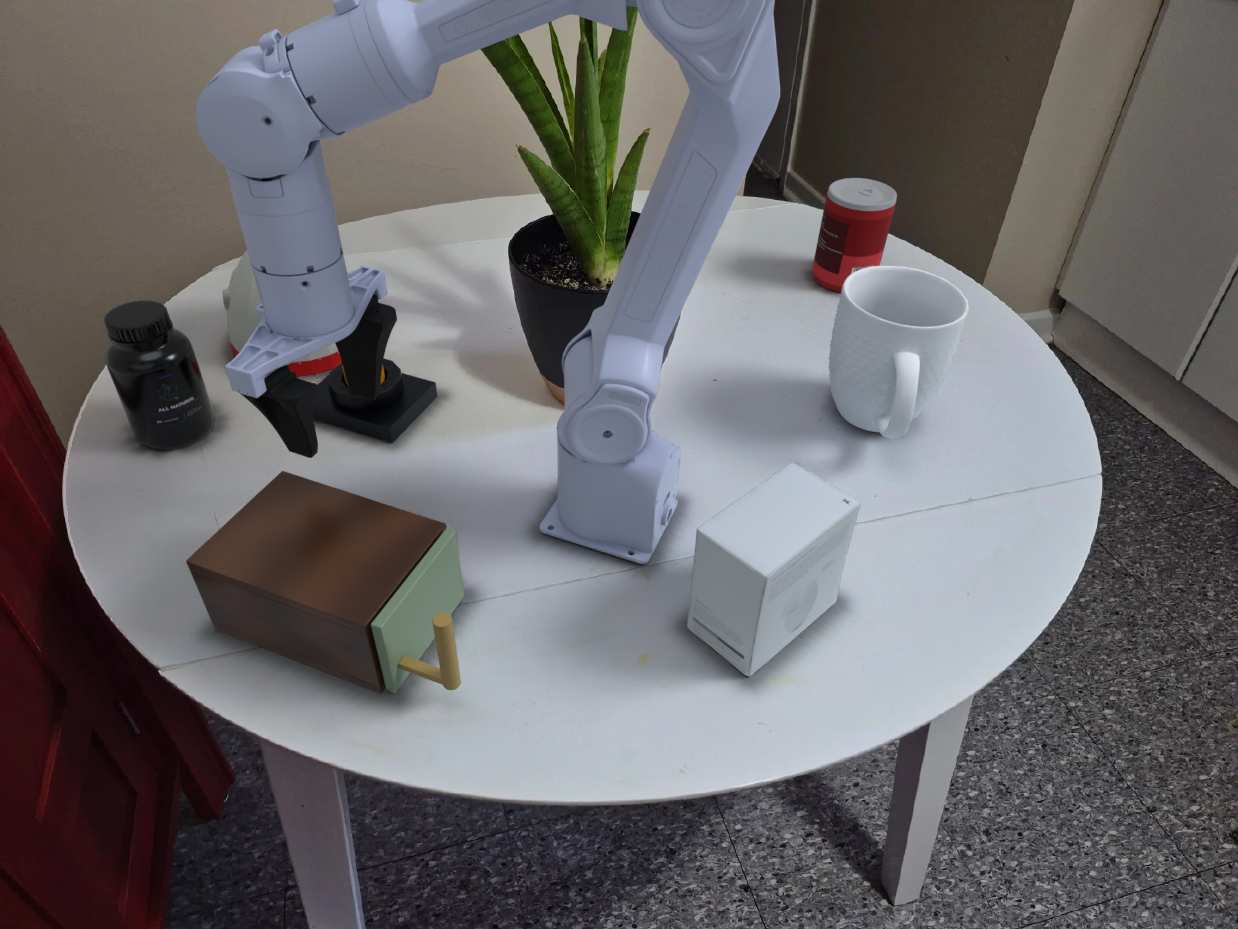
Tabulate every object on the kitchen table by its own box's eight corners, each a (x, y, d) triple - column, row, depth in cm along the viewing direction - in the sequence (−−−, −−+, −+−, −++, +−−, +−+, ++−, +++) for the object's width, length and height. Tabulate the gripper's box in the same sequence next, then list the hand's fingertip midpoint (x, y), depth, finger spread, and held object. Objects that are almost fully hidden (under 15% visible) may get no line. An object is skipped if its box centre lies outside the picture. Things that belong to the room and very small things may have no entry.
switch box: (437, 396, 84) (434, 366, 82) (392, 443, 79) (386, 413, 76) (350, 371, 87) (344, 342, 85) (300, 416, 81) (292, 385, 79)
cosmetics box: (770, 557, 70) (792, 457, 63) (836, 603, 66) (866, 503, 59) (680, 625, 64) (693, 524, 57) (747, 680, 61) (769, 579, 54)
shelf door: (517, 614, 64) (512, 534, 59) (453, 716, 57) (440, 636, 52) (455, 592, 65) (444, 512, 60) (385, 690, 59) (366, 609, 53)
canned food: (884, 274, 106) (906, 187, 99) (861, 301, 101) (883, 211, 94) (825, 256, 109) (843, 171, 102) (801, 282, 104) (817, 194, 97)
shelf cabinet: (455, 590, 66) (446, 523, 61) (381, 694, 59) (364, 626, 54) (302, 538, 70) (282, 470, 65) (214, 629, 62) (185, 560, 58)
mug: (947, 480, 77) (993, 358, 69) (823, 470, 78) (854, 347, 70) (919, 384, 89) (956, 269, 80) (811, 375, 89) (836, 259, 81)
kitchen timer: (384, 307, 97) (362, 176, 87) (352, 379, 86) (324, 239, 76) (258, 302, 96) (223, 170, 87) (212, 373, 86) (165, 232, 76)
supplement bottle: (190, 457, 76) (146, 341, 69) (119, 445, 77) (68, 330, 69) (231, 411, 82) (195, 299, 74) (165, 400, 82) (122, 288, 75)
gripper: (316, 200, 62) (348, 359, 71) (163, 292, 52) (224, 465, 61) (400, 219, 60) (423, 380, 69) (259, 319, 50) (307, 493, 59)
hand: (335, 421), depth 65 cm, fingers open, 7 cm apart
